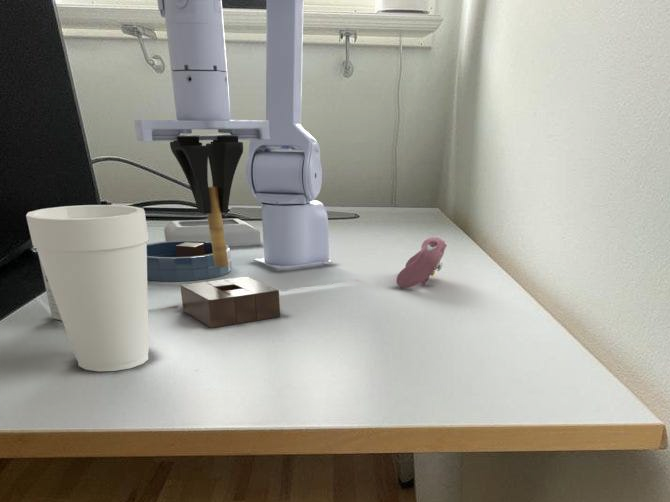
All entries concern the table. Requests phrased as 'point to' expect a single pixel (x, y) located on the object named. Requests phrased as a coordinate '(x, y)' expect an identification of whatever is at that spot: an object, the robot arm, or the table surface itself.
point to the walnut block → (190, 249)
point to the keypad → (199, 231)
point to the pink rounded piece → (422, 263)
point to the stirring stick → (217, 229)
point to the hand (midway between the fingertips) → (212, 212)
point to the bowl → (182, 263)
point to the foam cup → (97, 280)
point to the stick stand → (230, 301)
